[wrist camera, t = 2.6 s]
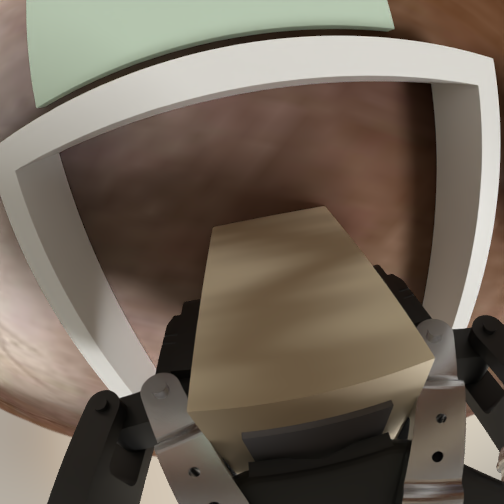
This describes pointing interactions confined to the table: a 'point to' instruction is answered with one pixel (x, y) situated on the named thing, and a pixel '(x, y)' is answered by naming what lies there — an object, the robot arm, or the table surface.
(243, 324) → the block
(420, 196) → the table surface
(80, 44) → the mat
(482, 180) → the white square frame
